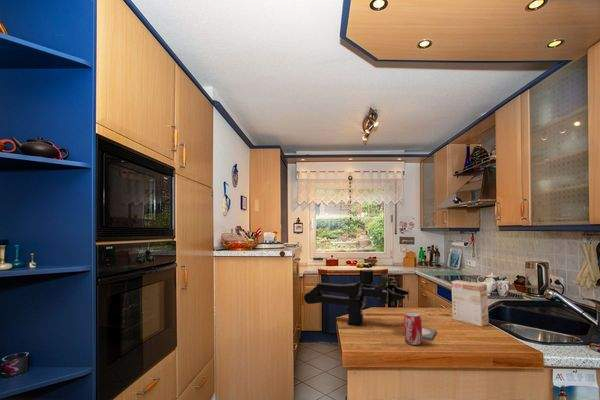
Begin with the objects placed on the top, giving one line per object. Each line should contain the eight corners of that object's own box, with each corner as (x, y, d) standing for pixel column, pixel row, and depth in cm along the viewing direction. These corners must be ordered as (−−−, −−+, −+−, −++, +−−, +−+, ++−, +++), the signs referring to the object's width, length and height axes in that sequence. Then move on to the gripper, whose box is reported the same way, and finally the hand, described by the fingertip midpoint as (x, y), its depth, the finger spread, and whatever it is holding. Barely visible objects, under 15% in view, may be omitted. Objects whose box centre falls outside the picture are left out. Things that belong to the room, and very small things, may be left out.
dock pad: (403, 335, 150) (403, 332, 150) (409, 328, 160) (409, 325, 161) (431, 340, 144) (431, 337, 144) (436, 332, 154) (436, 329, 154)
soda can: (423, 346, 138) (422, 316, 138) (405, 345, 139) (404, 316, 140) (421, 340, 145) (420, 312, 145) (403, 339, 146) (403, 311, 147)
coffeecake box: (489, 324, 165) (487, 283, 166) (481, 327, 161) (479, 285, 162) (459, 316, 177) (458, 279, 178) (452, 319, 173) (450, 281, 174)
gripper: (368, 278, 157) (402, 281, 149) (378, 272, 173) (409, 274, 166) (368, 302, 156) (403, 306, 149) (378, 294, 173) (410, 297, 165)
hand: (406, 295), depth 157 cm, fingers open, 9 cm apart
